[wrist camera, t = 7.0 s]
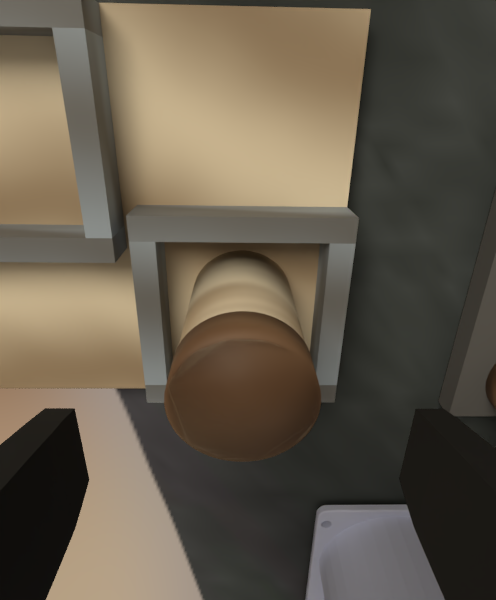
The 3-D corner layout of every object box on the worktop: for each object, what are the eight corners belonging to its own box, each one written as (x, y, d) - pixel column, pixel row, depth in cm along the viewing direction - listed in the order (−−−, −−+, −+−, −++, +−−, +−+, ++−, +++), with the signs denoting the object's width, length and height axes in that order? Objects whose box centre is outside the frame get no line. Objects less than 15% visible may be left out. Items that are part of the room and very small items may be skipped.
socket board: (320, 373, 18) (333, 412, 16) (-29, 373, 18) (-69, 413, 15) (361, 16, 12) (388, -4, 10) (-152, 4, 12) (-243, -20, 10)
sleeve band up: (287, 341, 16) (311, 463, 11) (191, 338, 16) (166, 459, 10) (297, 251, 14) (331, 339, 9) (191, 246, 14) (161, 333, 9)
